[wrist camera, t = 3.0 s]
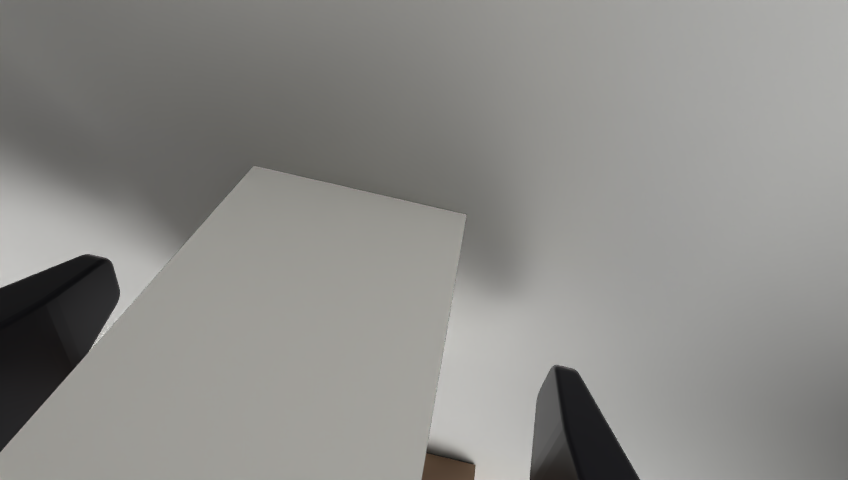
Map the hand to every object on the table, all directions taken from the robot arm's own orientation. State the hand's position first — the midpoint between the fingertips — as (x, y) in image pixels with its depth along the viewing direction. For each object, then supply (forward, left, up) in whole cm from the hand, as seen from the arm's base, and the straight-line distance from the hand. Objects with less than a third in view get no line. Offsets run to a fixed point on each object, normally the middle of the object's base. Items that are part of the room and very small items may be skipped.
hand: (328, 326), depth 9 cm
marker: (0, 0, -2) cm, 2 cm away
